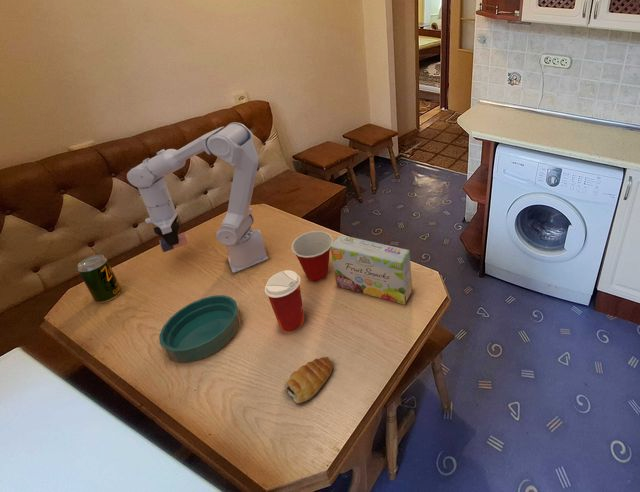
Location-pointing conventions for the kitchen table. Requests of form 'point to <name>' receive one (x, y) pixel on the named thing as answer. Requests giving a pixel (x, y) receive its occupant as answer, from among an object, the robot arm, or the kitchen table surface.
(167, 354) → the bowl
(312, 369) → the pastry
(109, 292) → the beer can
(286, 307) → the paper cup
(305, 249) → the plastic cup
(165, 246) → the eraser
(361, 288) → the snack box
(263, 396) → the kitchen table surface
